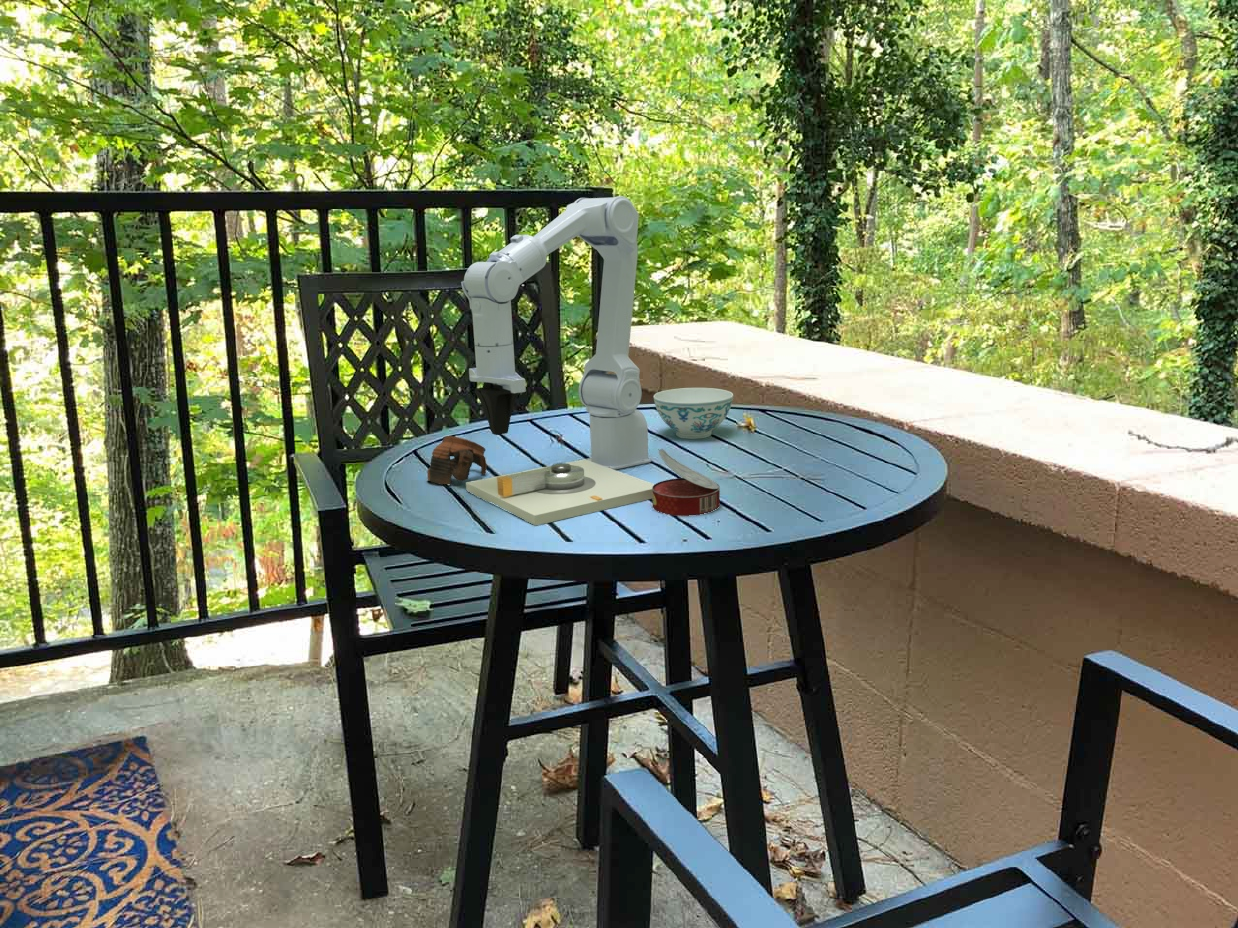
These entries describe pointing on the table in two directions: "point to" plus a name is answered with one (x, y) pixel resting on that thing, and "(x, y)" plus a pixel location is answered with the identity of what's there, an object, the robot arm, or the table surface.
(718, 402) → the chinaware
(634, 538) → the table surface
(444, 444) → the brown ridged arch
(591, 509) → the panel
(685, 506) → the canned food
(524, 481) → the dial
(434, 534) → the table surface
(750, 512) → the table surface
